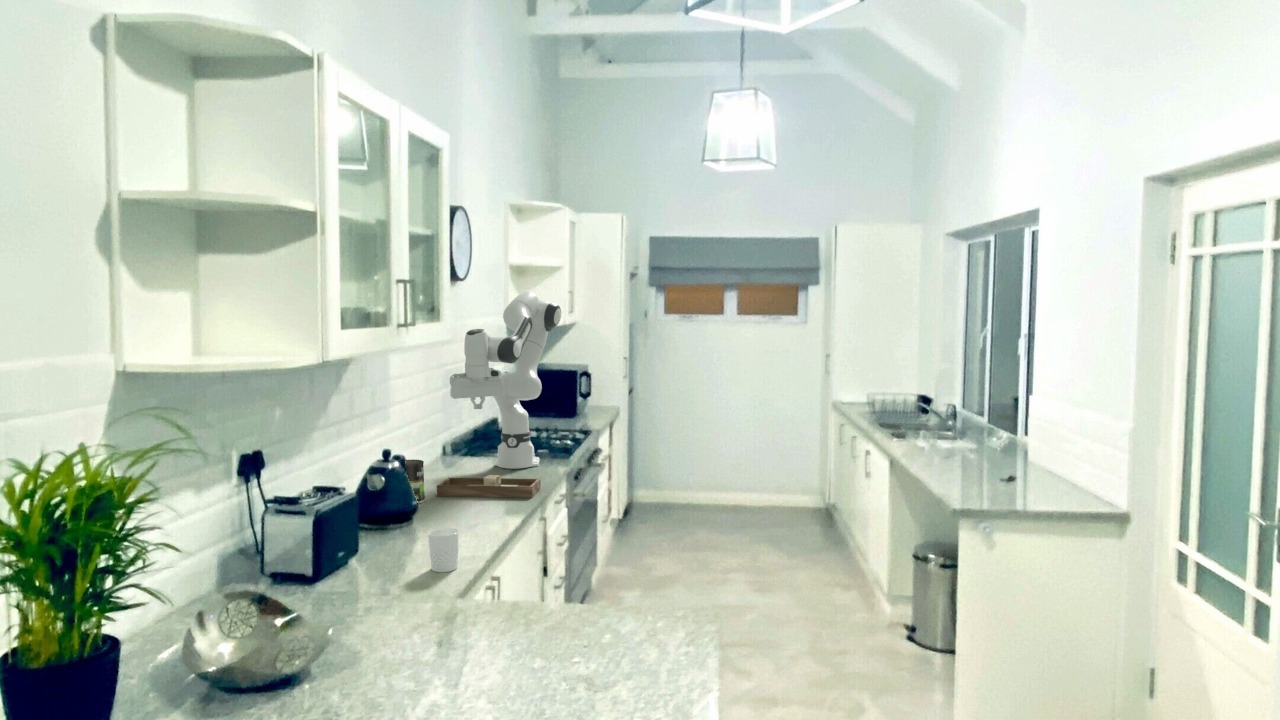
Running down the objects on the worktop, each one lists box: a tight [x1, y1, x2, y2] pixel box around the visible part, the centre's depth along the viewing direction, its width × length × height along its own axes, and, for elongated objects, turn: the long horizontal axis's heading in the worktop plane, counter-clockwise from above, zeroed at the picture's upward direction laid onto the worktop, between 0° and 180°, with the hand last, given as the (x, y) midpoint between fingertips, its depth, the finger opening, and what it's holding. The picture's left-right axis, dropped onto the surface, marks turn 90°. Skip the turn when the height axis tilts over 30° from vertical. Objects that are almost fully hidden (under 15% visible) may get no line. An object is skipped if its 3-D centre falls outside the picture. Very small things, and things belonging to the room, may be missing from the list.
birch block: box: [483, 474, 502, 486], centre depth 318 cm, size 4×4×4 cm
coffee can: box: [404, 459, 426, 505], centre depth 308 cm, size 10×10×14 cm
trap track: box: [436, 477, 541, 499], centre depth 320 cm, size 13×35×4 cm, turn 84°
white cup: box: [427, 527, 460, 573], centre depth 234 cm, size 8×8×10 cm
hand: (478, 408), depth 332 cm, fingers closed
